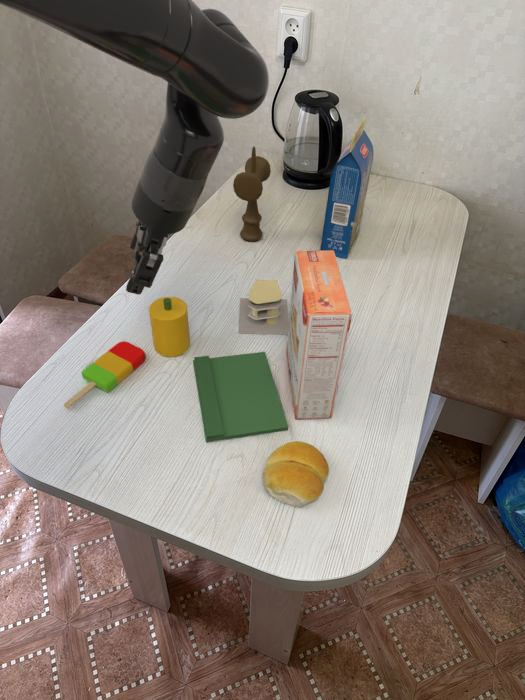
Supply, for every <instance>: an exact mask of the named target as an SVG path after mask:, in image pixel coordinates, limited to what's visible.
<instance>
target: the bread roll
mask: <svg viewBox="0 0 525 700" xmlns="http://www.w3.org/2000/svg"><path fill="white" fill-rule="evenodd" d="M329 471H330V467H329V463H328V461H327V459H326V457H325V456H324V453H322V452H321V451H320V450H319V449H318V448H317V447H315V446H314V445H312V444H310V443H308V442H304V441H299V440H295V441H294V440H293V441H289V442H286V443H284V444H282V445H280V446H278V447H277V448H275V450H273V451H272V452H271V453H270V454H269V456H268V457H267V459H266V462H265V466H264V469H263V473H262V482H263V486H264V488H265V490H266V491H267V493H268V494H269V495H270V496H271V497H272V498H273V499H274V500H277V501H279V502H281V503H283V504H285V505H289V506H293V507H297V508H298V507H299V508H302V507H305V506H307V505H308V504H311V503H313V502H315V501H316V500H318V499H319V497H320V496H321V495H322V494H323V492H324V487H325V486H324V482H325V481H326V479H327V477H328V475H329Z"/></svg>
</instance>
